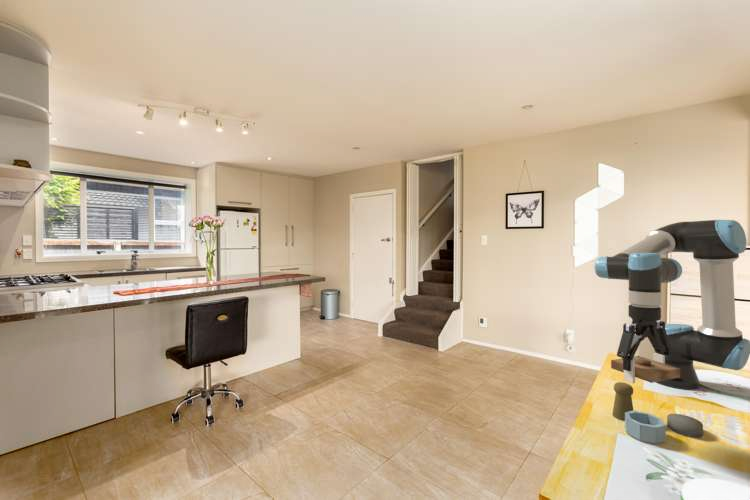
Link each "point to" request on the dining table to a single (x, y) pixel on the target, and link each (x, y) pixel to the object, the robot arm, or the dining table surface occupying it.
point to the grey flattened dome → (685, 425)
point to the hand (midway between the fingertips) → (644, 378)
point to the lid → (649, 369)
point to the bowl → (645, 427)
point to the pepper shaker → (622, 400)
